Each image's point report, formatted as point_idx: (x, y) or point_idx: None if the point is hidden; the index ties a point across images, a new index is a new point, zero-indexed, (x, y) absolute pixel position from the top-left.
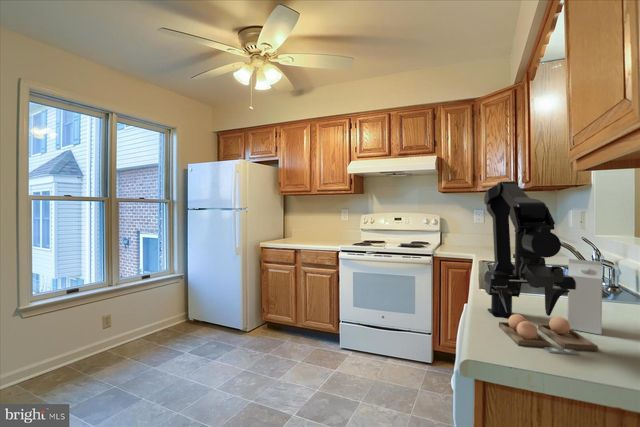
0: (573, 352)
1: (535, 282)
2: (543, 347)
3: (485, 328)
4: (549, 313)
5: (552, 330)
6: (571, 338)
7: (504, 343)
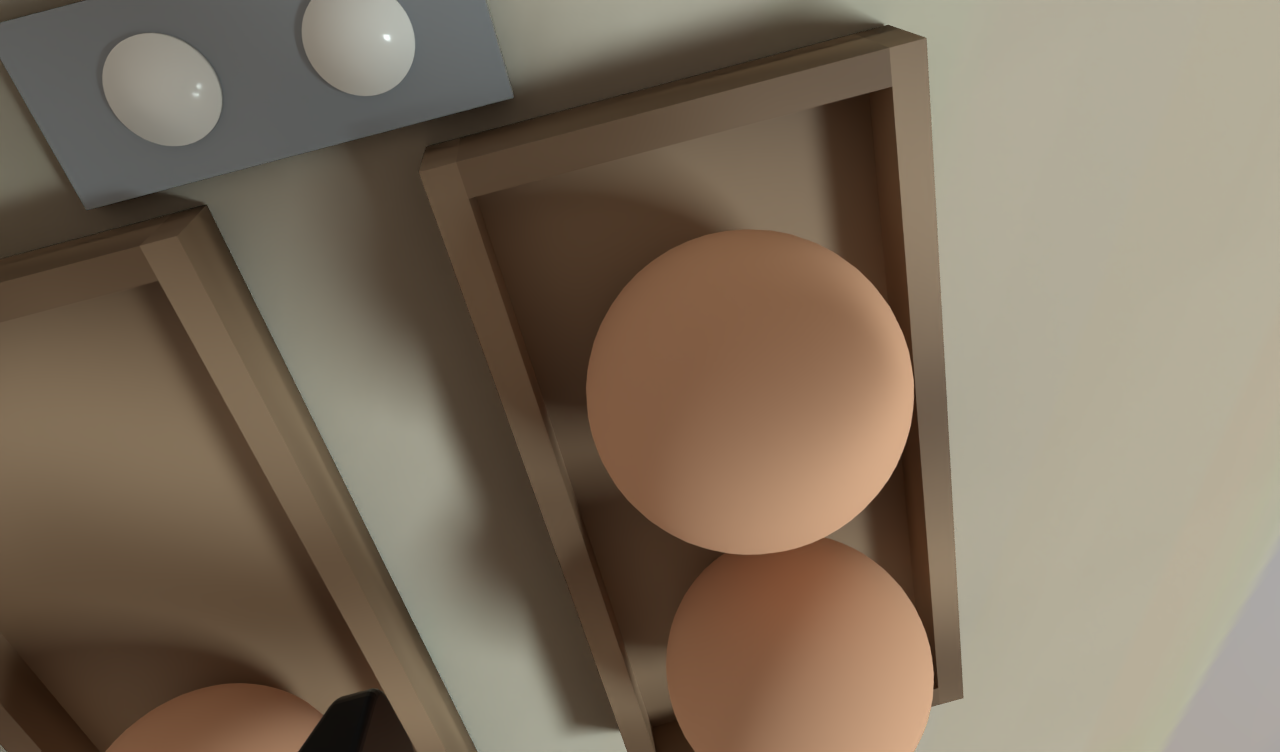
0: (69, 41)
1: None
2: (519, 123)
3: (1123, 522)
4: (339, 734)
5: None
6: (104, 623)
7: (1073, 40)
